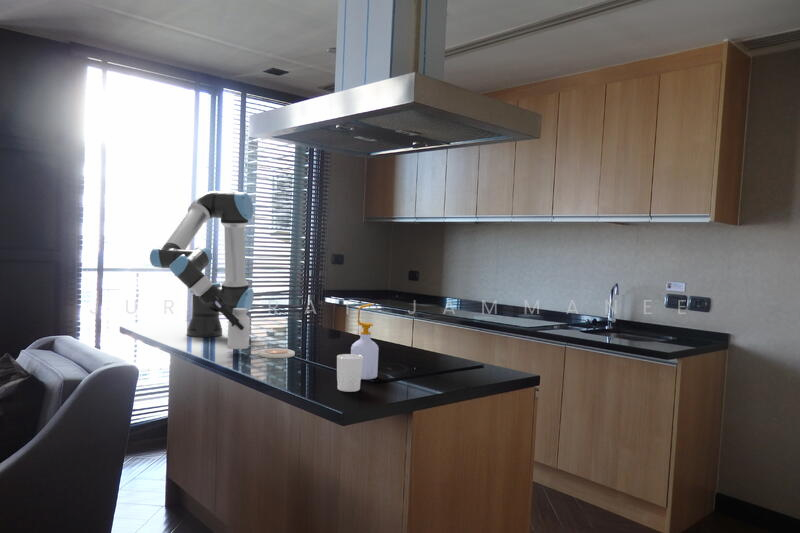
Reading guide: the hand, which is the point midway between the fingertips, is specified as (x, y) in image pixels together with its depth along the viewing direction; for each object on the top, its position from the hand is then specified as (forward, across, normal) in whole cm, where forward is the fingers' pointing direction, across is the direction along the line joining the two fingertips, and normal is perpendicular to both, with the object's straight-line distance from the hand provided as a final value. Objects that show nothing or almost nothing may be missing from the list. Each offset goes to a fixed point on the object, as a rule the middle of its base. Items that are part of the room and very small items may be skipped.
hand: (247, 332), depth 223 cm
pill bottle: (+2, 0, -6) cm, 7 cm away
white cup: (+24, +59, +13) cm, 65 cm away
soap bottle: (+30, +43, +19) cm, 56 cm away
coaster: (+13, +3, +2) cm, 14 cm away
